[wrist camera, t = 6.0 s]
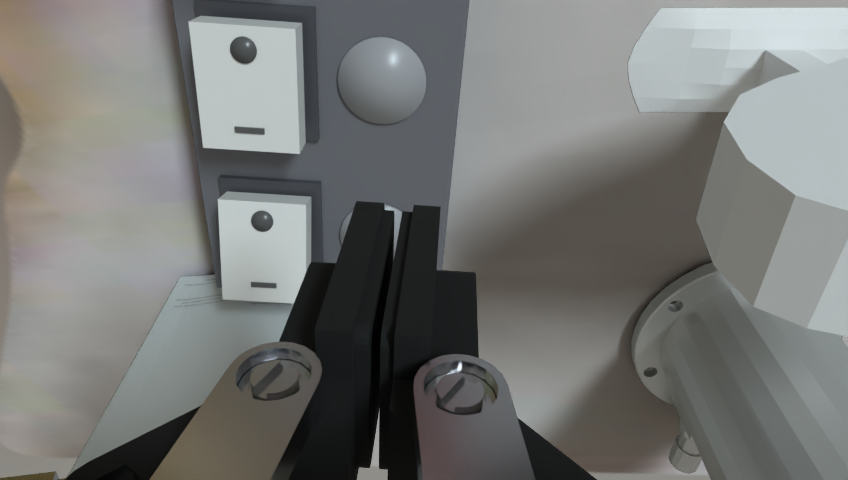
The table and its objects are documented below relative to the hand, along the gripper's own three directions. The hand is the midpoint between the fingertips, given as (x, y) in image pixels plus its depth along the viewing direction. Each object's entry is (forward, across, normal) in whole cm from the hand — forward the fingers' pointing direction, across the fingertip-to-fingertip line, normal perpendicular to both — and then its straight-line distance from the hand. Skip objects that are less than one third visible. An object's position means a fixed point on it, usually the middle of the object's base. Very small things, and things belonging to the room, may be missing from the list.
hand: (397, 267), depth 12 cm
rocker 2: (+14, +7, +9) cm, 18 cm away
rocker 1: (+14, +7, +1) cm, 16 cm away
